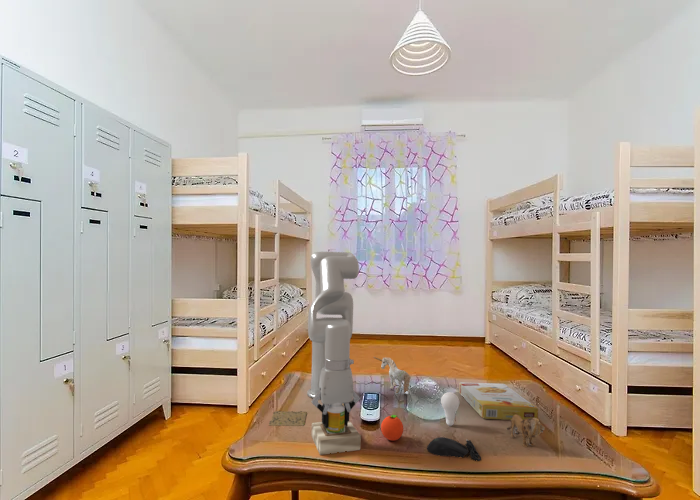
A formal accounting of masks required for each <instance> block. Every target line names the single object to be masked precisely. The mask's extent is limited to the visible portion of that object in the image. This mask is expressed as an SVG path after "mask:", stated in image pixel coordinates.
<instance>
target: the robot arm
mask: <svg viewBox="0 0 700 500" xmlns="http://www.w3.org/2000/svg"><path fill="white" fill-rule="evenodd" d="M310 266H311V270H312V274H313V275H314V280H315V296H314V299H313V301H312V302H311V304H310V306H309V309H308V313H307V315H308V316H307V318H308V319H307V333H308V334H307V335H308V338H309V339H310V340H309V341H311V347H312V348H311V382H310V383H311V385H310V386H311V387H310V388H309V389H308V390H307V391H306V392H307V393H306V395H307V396H308V397H309V398H311V400H310V401H311V404H312V405H313V406H314V407H315V408H317V409H318V410H319V411H320V412H321V422H322V424H324V426H325V428H328V413H327V410H328V408H329V405H330V404H335V403H343V404H342V405H343V406H344V407H345V422H344V425H345V426H348V422H349V421H350V413H351V411H352V409H353V408H354V406H355V405H356V404H357V403H358V402H359V401H360V400H361V398H360V396H359V395H358V394H357V393H356V392H355V390H354V379H353V372H352V371H353V370H352V368H351V365H353V364H354V363H355V362H354V361H355V360H354V359H351V358H350V355H351V354H350V349H351V348H350V347H351V345H350V343H351V338H352V335H353V327H354V325H353V324H354V298H353V295H352V294H351V293H349V292H347V291H345V282H344V280H345V279H346V280H353V279H357V278H358V276H359V273H360V265H359V261H358V259H357V257H356V256H355V255H354V254H353V253H351V252H343V251H341V252H340V251H317V252H314V253H312V254H311V256H310ZM317 314H319V315H324V316H325V315H326V316H325V317H317ZM328 315H329V316H331V315H332V316H334V315H335V316H336V315H337V316H341V317H327V316H328ZM319 401H321V403H320V402H319Z"/></svg>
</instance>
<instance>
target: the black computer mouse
mask: <svg viewBox="0 0 700 500" xmlns="http://www.w3.org/2000/svg"><path fill="white" fill-rule="evenodd" d="M465 441H466V443H465V445H464V444H463V443H460V442H459V441H456V440H454V439H452V438H448V437H444V436H439V437H436V438H434V439H432V440H430V442H429V443H428V444H427V446H426V450H427V452H429V453H430V454H433V455H435V456H438V455H440V457H452V456H455V457H454V458H459V457H462V458H461V459H463V458H464V457H466V458H469V456H470V457H471V459H470V460H473V461H474V460H475V461H474V462H480V461H481V460H482V456H481V455H480V453H479V451H477V449H476V447H475V445H474V443H473V442H472V441H471V439H467V438H466V439H465ZM476 460H477V461H476Z"/></svg>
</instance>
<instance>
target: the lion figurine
mask: <svg viewBox="0 0 700 500" xmlns="http://www.w3.org/2000/svg"><path fill="white" fill-rule="evenodd" d="M510 422H511V425H510V426H509V427H506V430H508V431H509V430H511V431H510V433H511V434H510V437H511V438H512V439H513V438H514V439H515V437H516V436H515V434H519V433H521V436H522V437H521V438H522V446H523V447H524V448H527V447H528V445H530V446H531V447H533V446H535V444H534V442H532V441H533V439H535V438H536V437H538V436H540V434H541V433H544V431H545V429H546V426H544V425H543V424H542V423H541V422H540V419H539V418H538V419H537V418H528V419H524V420H522V418H521V417H520V416H519V415H514V416H513V417H512V420H510ZM527 438H528V442H527ZM527 443H528V444H527Z"/></svg>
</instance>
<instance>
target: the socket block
mask: <svg viewBox="0 0 700 500" xmlns="http://www.w3.org/2000/svg"><path fill="white" fill-rule="evenodd" d="M310 435H311V438H312V440H313V443H314V445H315V447H316V450H317V451H318V452H317V453H318V454H319V455H320V456H323V455H330V453H331V454H337V452H339V453H346V452H345V451H347V452H353V451H360V450H361V444H362V443H361V441H362V440H361V438H362V437H361V436H362V435H361V434H360V433H359V431H358V430H357V429H356V427H355V426H354V425H353V423H352V422H351V420H349V422H348V426H345V425H344V432H343V433H334V434H329V433H328V432H327V430H326V428H325V426H324V424H322V421H318V422H312V423H311V434H310Z"/></svg>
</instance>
